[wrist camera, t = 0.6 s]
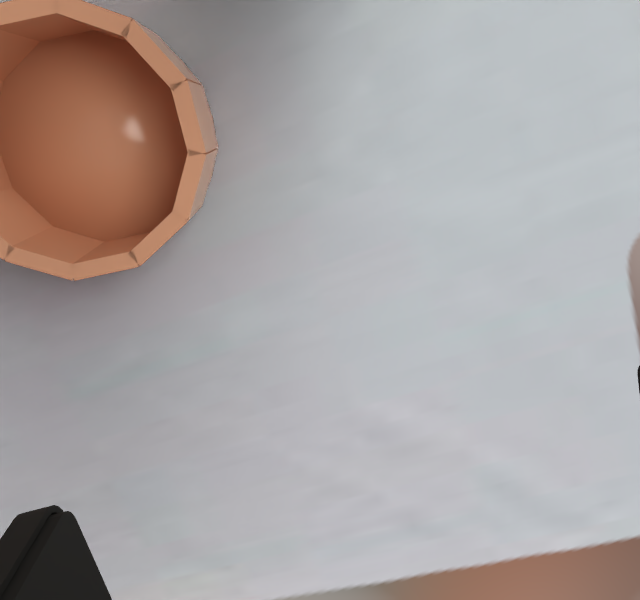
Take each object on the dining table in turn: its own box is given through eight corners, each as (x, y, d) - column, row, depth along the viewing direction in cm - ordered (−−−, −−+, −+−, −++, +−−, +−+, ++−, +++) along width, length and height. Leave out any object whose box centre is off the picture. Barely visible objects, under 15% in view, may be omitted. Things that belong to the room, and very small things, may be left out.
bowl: (-48, 46, 38) (-124, 30, 31) (182, -4, 38) (159, -32, 31) (33, 269, 43) (-18, 300, 36) (239, 225, 43) (230, 247, 35)
